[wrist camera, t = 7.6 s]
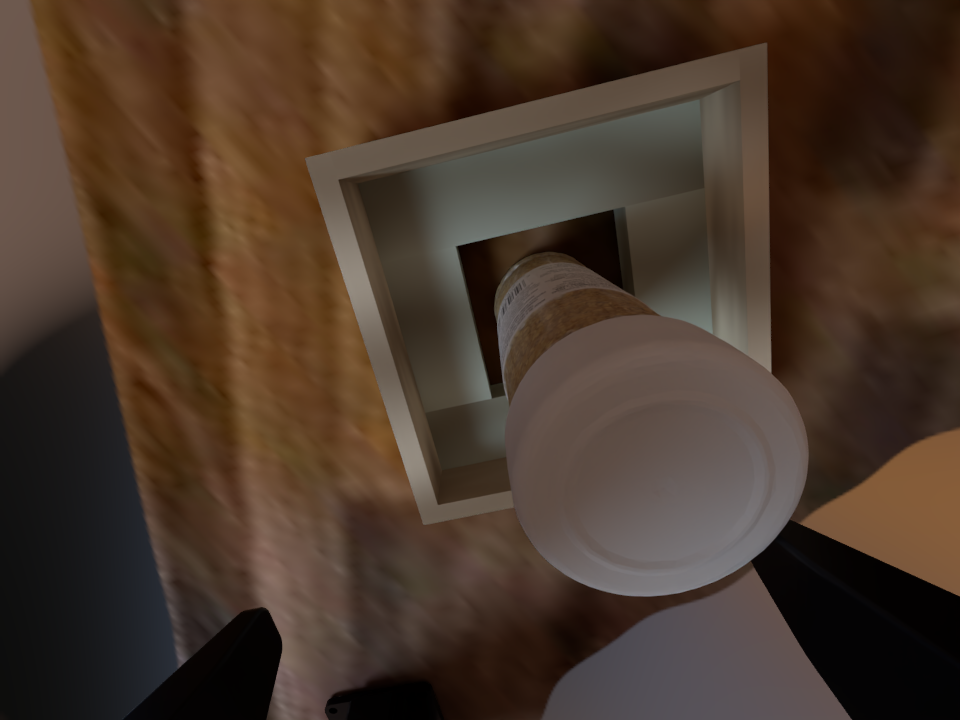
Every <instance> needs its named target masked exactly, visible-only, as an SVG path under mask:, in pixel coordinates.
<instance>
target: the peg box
mask: <svg viewBox="0 0 960 720" xmlns="http://www.w3.org/2000/svg"><path fill="white" fill-rule="evenodd" d="M305 161H306V164H307V167H308V170H309V173H310V176H311V179H312V182H313V185H314V188H315V192H316V195H317V198H318V201H319V204H320V207H321V210H322V213H323V216H324V219H325V222H326V225H327V229H328V232H329V235H330V238H331V241H332V244H333V247H334V250H335V253H336V256H337V259H338V262H339V266H340V269H341V272H342V275H343V278H344V281H345V284H346V287H347V290H348V293H349V296H350V299H351V303H352V306H353V309H354V312H355V315H356V318H357V321H358V324H359V327H360V330H361V333H362V336H363V340H364V343H365V346H366V349H367V352H368V355H369V358H370V361H371V364H372V367H373V370H374V373H375V377H376V380H377V383H378V386H379V389H380V392H381V395H382V398H383V401H384V404H385V407H386V410H387V414H388V417H389V420H390V423H391V426H392V429H393V432H394V435H395V438H396V441H397V444H398V447H399V451H400V454H401V457H402V460H403V463H404V466H405V469H406V472H407V475H408V478H409V481H410V484H411V488H412V491H413V494H414V497H415V500H416V503H417V506H418V509H419V512H420V515H421V518H422V521H423V524H424V525H427V524H432V523H437V522H442V521H447V520H452V519H457V518H462V517H467V516H472V515H477V514H482V513H487V512H492V511H498V510H503V509H508V508H513V507H514V503H513V498H512V492H511V486H510V480H509V474H508V467H507V458H506V448H505V426H506V419H507V415H508V411H509V402H508V400H507V397H506V394H505V390H504V385H503V383H499V384H494V385H490V381H489V377H488V373H487V368H486V364H485V360H484V356H483V351H482V347H481V343H480V339H479V334H478V330H477V326H476V322H475V317H474V313H473V309H472V305H471V300H470V296H469V292H468V288H467V283H466V279H465V275H464V271H463V266H462V262H461V258H460V254H459V249H458V246H459V245H463V244H468V243H472V242H476V241H480V240H485V239H489V238H493V237H497V236H502V235H506V234H510V233H514V232H519V231H523V230H527V229H532V228H536V227H540V226H544V225H549V224H553V223H557V222H561V221H566V220H570V219H574V218H579V217H583V216H587V215H591V214H596V213H600V212H604V211H608V210H613V209H614V217H615V226H616V234H617V242H618V250H619V259H620V267H621V275H622V284H623V290H624V291H626V292H627V293H629V294H631V295H633V296H634V297H636V298H638V299H639V300H641V301H642V302H644V303H645V304H646V305H648V306H649V307H650V308H651V309H652V310H653V311H654V312H656V313H657V314H659V315H661V316H662V317H669V318H674V319H679V320H683V321H686V322H688V323H691V324H693V325H696V326H698V327H700V328H702V329H704V330H706V331H707V332H709V333H711V334H713V335H715V336H716V337H718V338H720V339H722V340H723V341H725V342H727V343H729V344H730V345H732V346H733V347H735V348H737V349H738V350H740V351H741V352H743V353H744V354H746V355H747V356H749V357H750V358H752V359H753V360H755V361H756V362H758V363H759V364H760V365H762V366H763V367H765V368H766V369H767V370H768V371H769V372H770V373H771V308H770V229H769V150H768V71H767V42H766V43H762V44H758V45H754V46H750V47H746V48H742V49H738V50H734V51H730V52H726V53H722V54H718V55H714V56H710V57H706V58H703V59H699V60H695V61H691V62H687V63H683V64H679V65H675V66H671V67H667V68H663V69H659V70H655V71H651V72H647V73H643V74H639V75H635V76H631V77H627V78H623V79H619V80H615V81H611V82H607V83H603V84H599V85H595V86H591V87H587V88H583V89H579V90H575V91H571V92H567V93H563V94H559V95H555V96H551V97H547V98H543V99H539V100H535V101H531V102H527V103H523V104H519V105H515V106H511V107H507V108H503V109H499V110H495V111H491V112H487V113H483V114H479V115H475V116H471V117H467V118H463V119H459V120H456V121H452V122H448V123H444V124H440V125H436V126H432V127H428V128H424V129H420V130H416V131H412V132H408V133H404V134H400V135H396V136H392V137H388V138H384V139H380V140H376V141H372V142H368V143H364V144H360V145H356V146H352V147H348V148H344V149H340V150H336V151H332V152H328V153H324V154H320V155H316V156H312V157H308V158H305Z"/></svg>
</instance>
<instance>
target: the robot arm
mask: <svg viewBox="0 0 960 720" xmlns="http://www.w3.org/2000/svg"><path fill="white" fill-rule="evenodd" d="M751 561H752V564H753V566H754V568H755V570H756V571H757V573H758V575H759V576H760V578H761V580H762V582H763V583H764V585H765V587H766V588H767V590H768V592H769V593H770V595H771V597H772V599H773V600H774V602H775V604H776V605H777V607H778V609H779V610H780V612H781V614H782V616H783V617H784V619H785V621H786V622H787V624H788V626H789V627H790V629H791V631H792V633H793V634H794V636H795V638H796V639H797V641H798V643H799V644H800V646H801V647H802V649H803V651H804V652H805V654H806V655H807V657H808V658H809V660H810V661H811V663H812V664H813V666H814V667H815V669H816V670H817V671H818V673H819V674H820V676H821V677H822V678H823V680H824V681H825V683H826V684H827V685H828V687H829V688H830V690H831V691H832V692H833V694H834V695H835V697H836V698H837V699H838V701H839V702H840V703H841V705H842V706H843V708H844V709H845V711H846V712H847V713H848V715H849V716H850V718H851V719H852V720H960V596H958V595H955V594H953V593H951V592H949V591H946V590H944V589H942V588H940V587H938V586H935V585H933V584H931V583H929V582H927V581H924V580H922V579H920V578H918V577H916V576H913V575H911V574H909V573H907V572H904V571H902V570H900V569H898V568H896V567H893V566H891V565H889V564H887V563H884V562H882V561H880V560H878V559H876V558H874V557H871V556H869V555H867V554H865V553H862V552H860V551H858V550H856V549H854V548H851V547H849V546H847V545H845V544H843V543H840V542H838V541H836V540H834V539H832V538H829V537H827V536H825V535H822V534H820V533H818V532H816V531H814V530H812V529H810V528H807V527H805V526H803V525H801V524H798V523H796V522H794V521H792V520H790V519H789V521H788V522H787V524H786V525H785V526H784V528H783V529H782V530H781V532H780V533H779V534H778V535H777V537H776V538H775V539H774V540H773V541H772V542H771V543H770V544H769V545H768V547H767V548H766V549H765V550H764V551H762V552H761V553H760V554H758V555H757V556H756V557H755V558H753V559H752V560H751ZM281 654H282V639H281V636H280V634H279V632H278V630H277V628H276V626H275V623H274V621H273V619H272V617H271V615H270V613H269V611H268V610H267V609H266V608H263V607H260V608H255V609H249V610H245V611H243V612H241V613H240V614H238V615H237V616H236V617H235V618H234V619H233V620H232V621H231V622H230V623H228V624H227V625H226V626H225V627H224V628H223V629H222V630H221V631H220V632H218V633H217V634H216V635H215V636H214V637H213V638H212V639H211V640H210V641H208V642H207V643H206V644H205V645H204V646H203V647H202V648H201V649H200V650H198V651H197V652H196V653H195V654H194V655H193V656H192V657H191V658H190V659H188V660H187V661H186V662H185V663H184V664H183V665H182V666H181V667H180V668H178V669H177V671H175V672H174V673H173V674H172V675H171V676H170V677H168V678H167V679H166V680H165V681H164V682H163V683H162V684H161V685H160V686H159V687H157V688H156V689H155V690H154V691H153V692H152V693H151V694H150V695H149V696H147V697H146V698H145V699H144V700H143V701H142V702H141V703H140V704H139V705H138V706H136V707H135V708H134V709H133V710H132V711H131V712H130V713H129V714H128V715H126V716H125V717H124V718H123V719H122V720H266V718H267V714H268V710H269V705H270V701H271V697H272V693H273V688H274V684H275V680H276V675H277V671H278V667H279V663H280V658H281ZM325 713H326V715H327V717H328V719H329V720H444V718H443V716H442V713H441V710H440V708H439V705H438V702H437V699H436V697H435V694H434V691H433V689H432V686H431V685H430V684H429V683H426V682H420V683H415V684H409V685H403V686H398V687H392V688H386V689H381V690H375V691H369V692H364V693H358V694H353V695H347V696H341V697H336V698H331V699H329V700H328V701H327V704H326V707H325Z"/></svg>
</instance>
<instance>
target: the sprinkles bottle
mask: <svg viewBox="0 0 960 720" xmlns="http://www.w3.org/2000/svg"><path fill="white" fill-rule="evenodd" d="M494 312H495V317H496V321H497V332H498V341H499V351H500V361H501V369H502V378H503V385H504V390H505V394H506V397H507V400H508V402H509V411H508V415H507V419H506V426H505V448H506V458H507V467H508V474H509V480H510V486H511V492H512V498H513V503H514V507H515V510H516V514H517V517H518V520H519V522H520V524H521V526H522V528H523V530H524V532H525V533H526V535H527V537H528V538H529V540H530V541H531V543H532V544H533V546H534V547H535V548H536V549H537V551H538V552H539V553H540V554H541V555H542V556H543V557H544V558H545V559H546V560H547V561H548V562H549V563H550V564H551V565H552V566H554V567H555V568H556V569H558V570H559V571H561V572H562V573H563V574H565V575H566V576H568V577H570V578H572V579H574V580H576V581H577V582H580V583H582V584H584V585H586V586H589V587H592V588H595V589H598V590H601V591H605V592H609V593H614V594H619V595H625V596H661V595H670V594H676V593H682V592H685V591H689V590H692V589H696V588H699V587H702V586H704V585H707V584H710V583H713V582H715V581H717V580H719V579H721V578H723V577H725V576H727V575H729V574H731V573H733V572H735V571H736V570H738V569H739V568H741V567H742V566H744V565H745V564H747V563H748V562H749V561H751V560H752V559H753V558H755V557H756V556H757V555H758V554H760V553H761V552H762V551H764V550H765V549H766V548H767V547H768V545H769V544H770V543H771V542H772V541H773V540H774V539H775V538H776V537H777V535H778V534H779V533H780V532H781V530H782V529H783V528H784V526H785V525H786V524H787V522H788V521H789V519H790V517H791V516H792V514H793V512H794V511H795V509H796V507H797V505H798V503H799V500H800V497H801V494H802V492H803V489H804V485H805V482H806V477H807V470H808V457H809V452H808V440H807V435H806V430H805V425H804V423H803V420H802V418H801V415H800V412H799V410H798V408H797V406H796V404H795V402H794V400H793V398H792V397H791V395H790V394H789V392H788V390H787V389H786V388H785V387H784V386H783V385H782V384H781V383H780V382H779V381H778V380H777V379H776V378H775V377H774V376H773V375H772V374H771V373H770V372H769V371H768V370H767V369H766V368H765V367H763V366H762V365H760V364H759V363H758V362H756V361H755V360H753V359H752V358H750V357H749V356H747V355H746V354H744V353H743V352H741V351H740V350H738V349H737V348H735V347H733V346H732V345H730V344H729V343H727V342H725V341H723V340H722V339H720V338H718V337H716V336H715V335H713V334H711V333H709V332H707V331H706V330H704V329H702V328H700V327H698V326H696V325H693V324H691V323H688V322H686V321H683V320H679V319H674V318H669V317H662V316H661V315H659V314H657V313H656V312H654V311H653V310H652V309H651V308H650V307H649V306H648V305H646V304H645V303H644V302H642V301H641V300H639V299H638V298H636V297H634V296H633V295H631V294H629V293H627V292H626V291H624V290H622V289H621V288H619V287H617V286H616V285H614V284H612V283H611V282H609V281H608V280H606V279H604V278H603V277H601V276H600V275H598V274H597V273H595V272H593V271H592V270H590V269H588V268H586V266H584V265H583V264H581V263H580V262H578V261H577V260H576V259H575V258H573V257H571V256H568V255H566V254H563V253H556V252H543V253H537V254H533V255H530V256H528V257H525V258H524V259H522V260H520V261H519V262H517V263H516V264H515V265H513V266H512V267H511V268H510V269H509V270H508V271H507V273H506V275H505V276H504V277H503V278H502V280H501V283H500V285H499V286H498V288H497V291H496V295H495V303H494Z"/></svg>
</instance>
